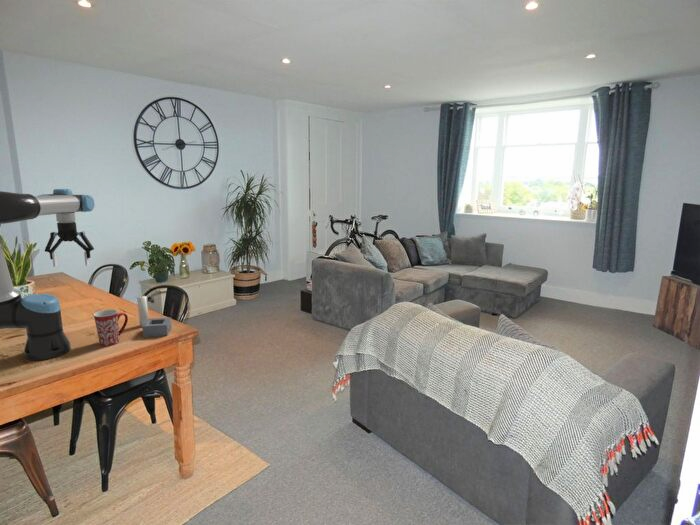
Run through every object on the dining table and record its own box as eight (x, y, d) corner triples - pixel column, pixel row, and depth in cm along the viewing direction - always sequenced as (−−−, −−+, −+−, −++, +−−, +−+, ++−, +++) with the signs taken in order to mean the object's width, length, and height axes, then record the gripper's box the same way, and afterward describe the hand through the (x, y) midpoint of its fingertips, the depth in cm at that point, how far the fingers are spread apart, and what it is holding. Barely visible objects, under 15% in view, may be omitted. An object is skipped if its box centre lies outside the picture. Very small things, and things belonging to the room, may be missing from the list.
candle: (148, 326, 198) (145, 296, 195) (138, 327, 197) (135, 297, 194) (150, 323, 202) (147, 294, 198) (141, 324, 201) (138, 294, 198)
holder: (167, 335, 188) (166, 325, 187) (143, 337, 186) (142, 326, 185) (171, 327, 197) (170, 317, 196) (148, 328, 195) (147, 318, 194)
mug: (100, 349, 173) (96, 318, 170) (94, 342, 179) (90, 312, 176) (133, 340, 182) (130, 311, 179) (126, 334, 188) (123, 306, 185)
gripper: (98, 220, 207) (102, 262, 211) (39, 221, 200) (45, 264, 205) (93, 222, 200) (97, 266, 204) (32, 223, 193) (38, 268, 198)
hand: (71, 265), depth 204 cm, fingers open, 13 cm apart
